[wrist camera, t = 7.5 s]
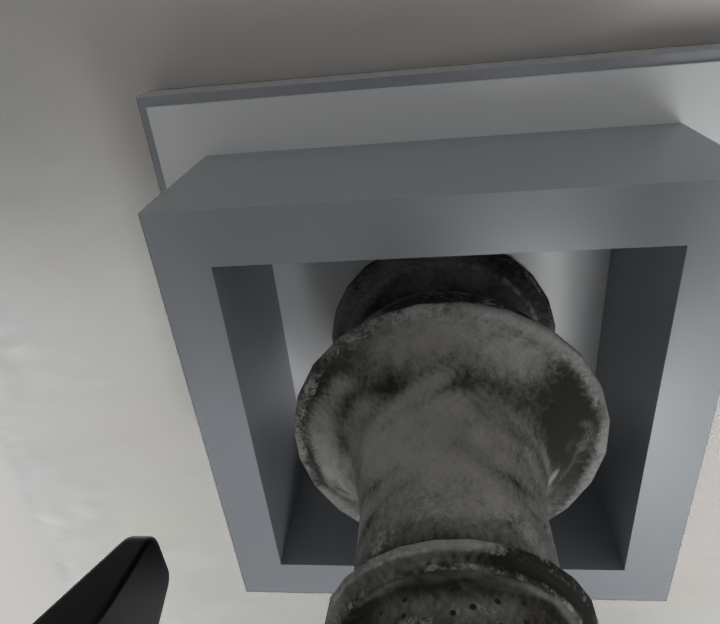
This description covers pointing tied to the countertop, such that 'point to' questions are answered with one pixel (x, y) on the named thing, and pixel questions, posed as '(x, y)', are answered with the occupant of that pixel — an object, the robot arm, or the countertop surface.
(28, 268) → the countertop surface
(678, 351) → the dock
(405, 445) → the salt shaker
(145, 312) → the countertop surface
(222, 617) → the countertop surface
